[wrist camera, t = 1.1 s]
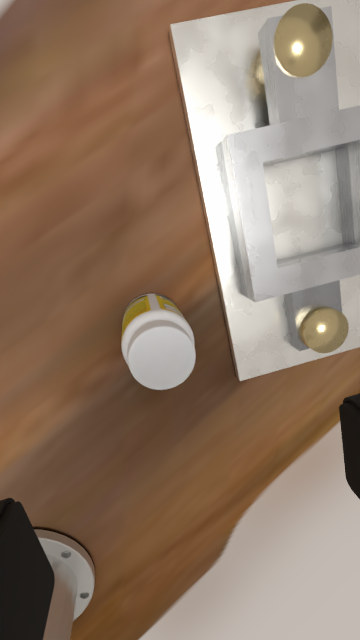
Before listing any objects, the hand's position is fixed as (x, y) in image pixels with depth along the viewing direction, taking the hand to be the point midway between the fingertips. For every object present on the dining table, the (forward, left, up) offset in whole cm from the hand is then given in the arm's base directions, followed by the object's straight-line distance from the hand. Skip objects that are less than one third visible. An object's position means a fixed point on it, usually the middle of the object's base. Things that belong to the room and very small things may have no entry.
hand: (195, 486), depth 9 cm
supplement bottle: (0, 0, -18) cm, 19 cm away
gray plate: (+6, -13, -18) cm, 23 cm away
